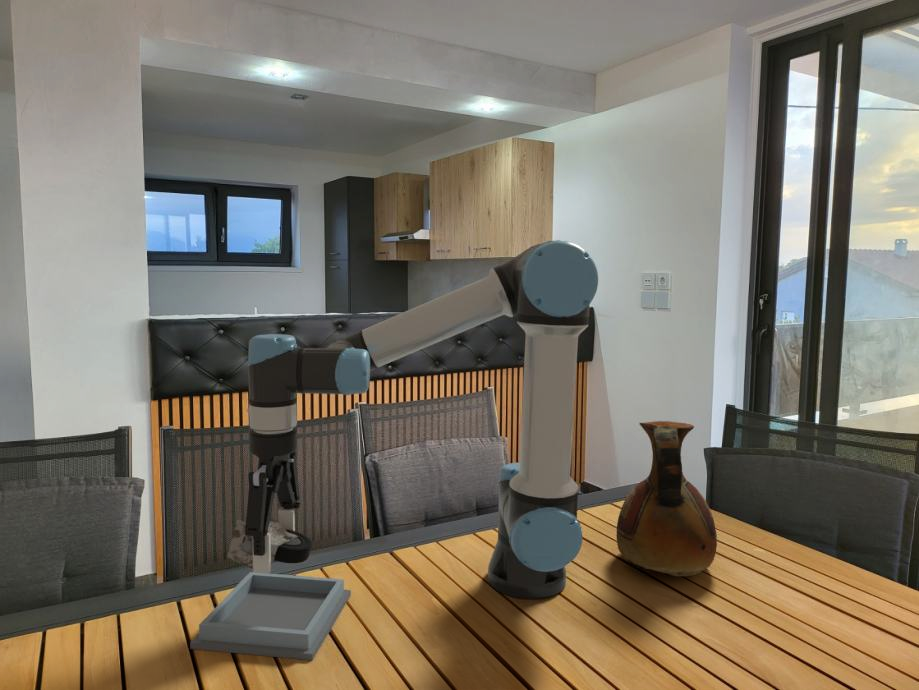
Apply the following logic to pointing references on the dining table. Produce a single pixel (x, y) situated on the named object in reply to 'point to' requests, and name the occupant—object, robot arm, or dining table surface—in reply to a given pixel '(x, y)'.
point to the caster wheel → (283, 545)
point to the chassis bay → (274, 616)
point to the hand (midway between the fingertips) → (275, 558)
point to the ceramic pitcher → (667, 511)
